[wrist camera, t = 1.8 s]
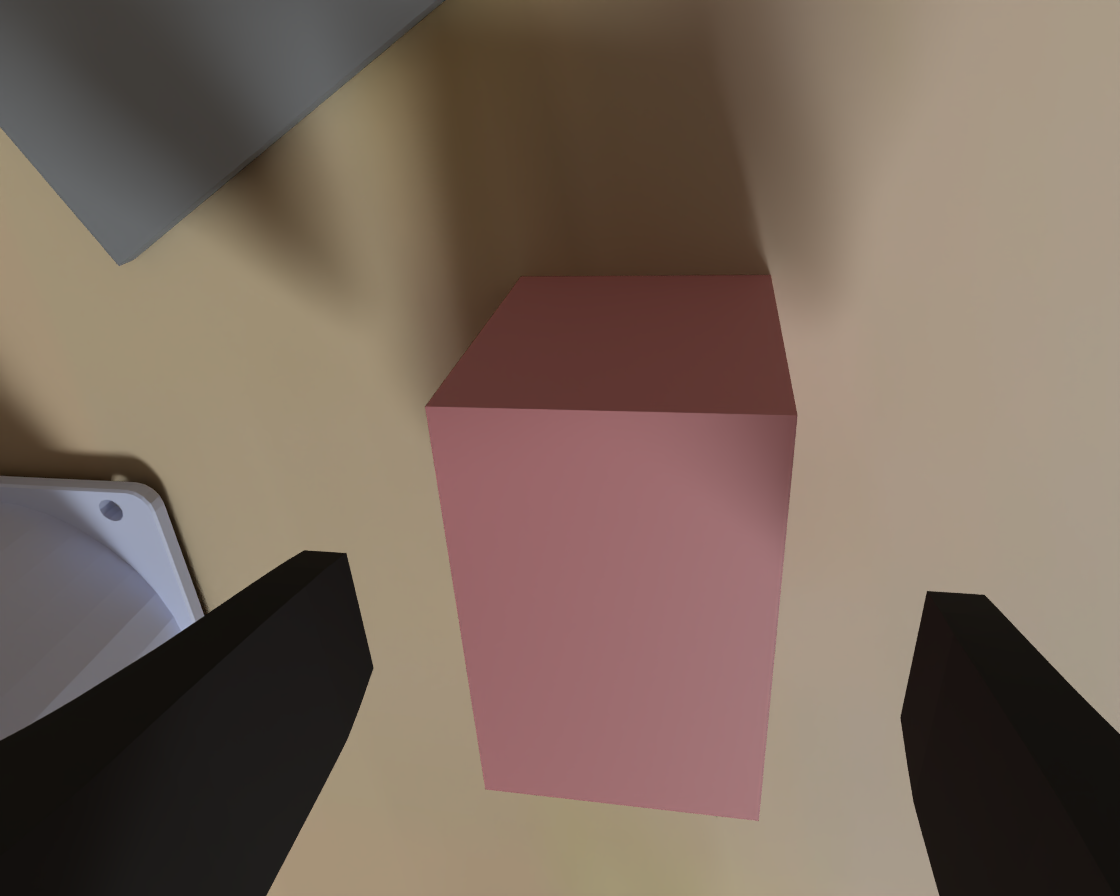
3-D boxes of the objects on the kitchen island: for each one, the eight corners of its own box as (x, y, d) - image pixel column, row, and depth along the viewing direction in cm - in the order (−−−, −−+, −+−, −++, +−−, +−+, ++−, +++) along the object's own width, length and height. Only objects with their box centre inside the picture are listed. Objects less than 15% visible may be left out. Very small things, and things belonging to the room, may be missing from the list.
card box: (547, 581, 16) (485, 789, 12) (522, 274, 13) (425, 406, 9) (747, 593, 15) (758, 820, 11) (770, 272, 12) (796, 414, 8)
